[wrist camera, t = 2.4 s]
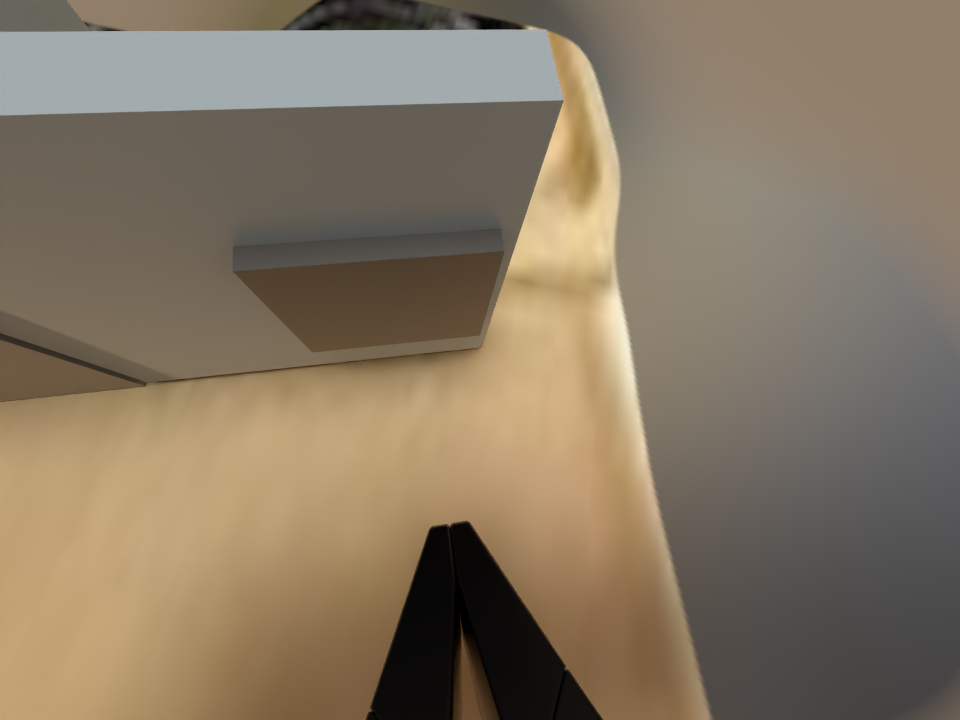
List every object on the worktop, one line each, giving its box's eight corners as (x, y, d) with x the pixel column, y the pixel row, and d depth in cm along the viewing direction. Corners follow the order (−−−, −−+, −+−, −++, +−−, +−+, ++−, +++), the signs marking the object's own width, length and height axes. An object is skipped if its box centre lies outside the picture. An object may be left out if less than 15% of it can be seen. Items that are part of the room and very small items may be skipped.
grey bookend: (483, 359, 19) (570, 130, 6) (146, 396, 17) (-631, 175, 5) (452, 149, 22) (471, -283, 10) (163, 161, 20) (-281, -355, 8)
